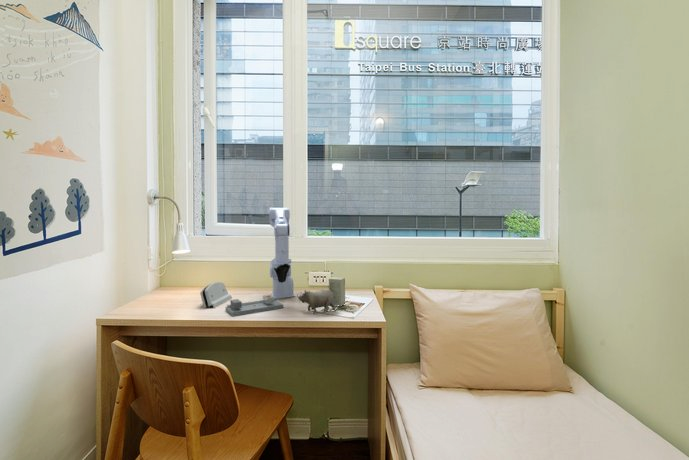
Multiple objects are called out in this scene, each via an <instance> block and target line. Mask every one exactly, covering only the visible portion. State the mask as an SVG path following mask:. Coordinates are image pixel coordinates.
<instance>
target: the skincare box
mask: <svg viewBox="0 0 689 460" xmlns="http://www.w3.org/2000/svg"><path fill="white" fill-rule="evenodd" d="M328 290H330V291H331V292H332V293H333V294H334V298H333V301H332V303H333V304H334V305H339V306H342V305H344V304H345V305H346V278H345V277H335V276H332V277H329V278H328ZM345 305H344V306H345ZM342 307H343V306H342Z"/></svg>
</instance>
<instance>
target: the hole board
mask: <svg viewBox="0 0 689 460" xmlns="http://www.w3.org/2000/svg"><path fill="white" fill-rule="evenodd" d="M229 301H230V304H226V306H225V312H226V313H228V315H230V316H231V317H236V316H242V315H247V314H255V313H261V312H267V311H272V310H279V309H284V304H283V303H282V302H279V301H278V300H277V299H275V298H274V303H271V304H266V303H265V302H263V299H256V300H252V301H251V300H250V301H243V302H242V301H241V300H239V299H237V298H235V299H231V300H229Z"/></svg>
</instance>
